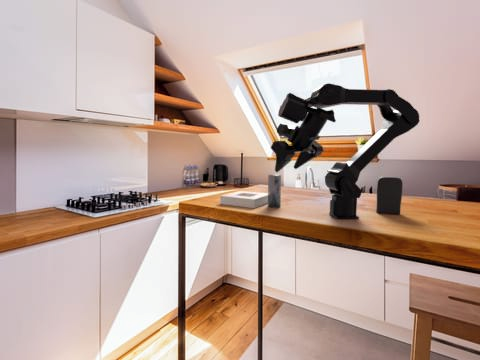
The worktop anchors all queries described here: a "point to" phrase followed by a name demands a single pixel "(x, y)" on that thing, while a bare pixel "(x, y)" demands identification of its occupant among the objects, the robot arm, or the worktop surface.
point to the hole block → (245, 199)
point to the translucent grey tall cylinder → (274, 191)
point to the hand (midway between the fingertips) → (285, 169)
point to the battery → (389, 195)
